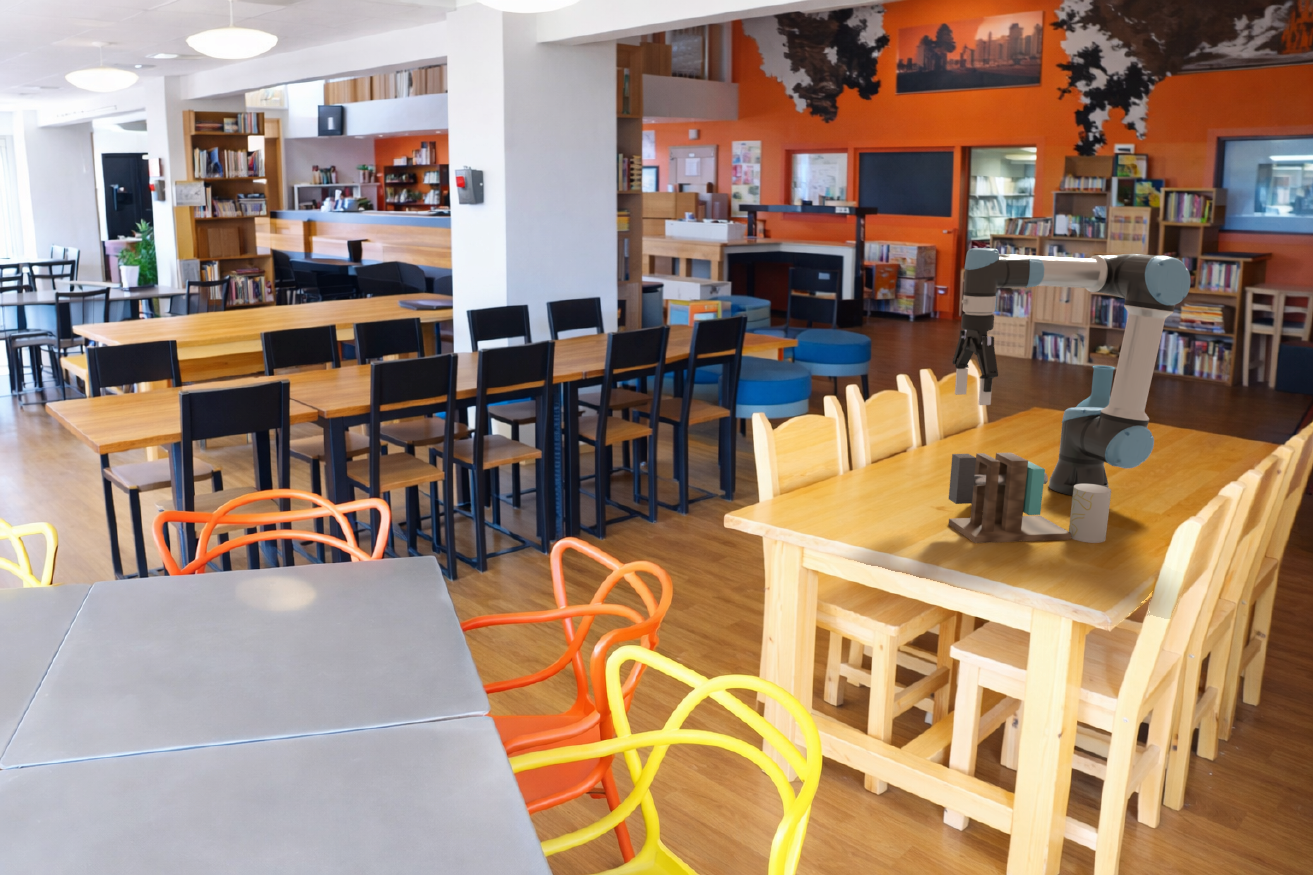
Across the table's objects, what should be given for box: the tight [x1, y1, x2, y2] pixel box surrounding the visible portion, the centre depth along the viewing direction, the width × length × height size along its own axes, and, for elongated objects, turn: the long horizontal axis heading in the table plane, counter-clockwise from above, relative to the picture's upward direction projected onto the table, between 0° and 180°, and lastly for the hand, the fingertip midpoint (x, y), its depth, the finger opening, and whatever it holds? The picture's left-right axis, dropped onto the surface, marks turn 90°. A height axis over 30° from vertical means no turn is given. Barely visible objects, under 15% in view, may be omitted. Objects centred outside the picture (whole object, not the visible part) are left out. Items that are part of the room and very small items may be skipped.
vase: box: [1075, 365, 1116, 408], centre depth 344 cm, size 16×16×25 cm
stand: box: [948, 452, 1072, 544], centre depth 247 cm, size 24×14×18 cm, turn 100°
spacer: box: [1023, 460, 1046, 516], centre depth 247 cm, size 3×11×11 cm, turn 10°
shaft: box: [948, 453, 1049, 505], centre depth 245 cm, size 23×4×11 cm, turn 100°
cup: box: [1068, 484, 1112, 544], centre depth 245 cm, size 8×8×12 cm
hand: (972, 399), depth 257 cm, fingers open, 13 cm apart
